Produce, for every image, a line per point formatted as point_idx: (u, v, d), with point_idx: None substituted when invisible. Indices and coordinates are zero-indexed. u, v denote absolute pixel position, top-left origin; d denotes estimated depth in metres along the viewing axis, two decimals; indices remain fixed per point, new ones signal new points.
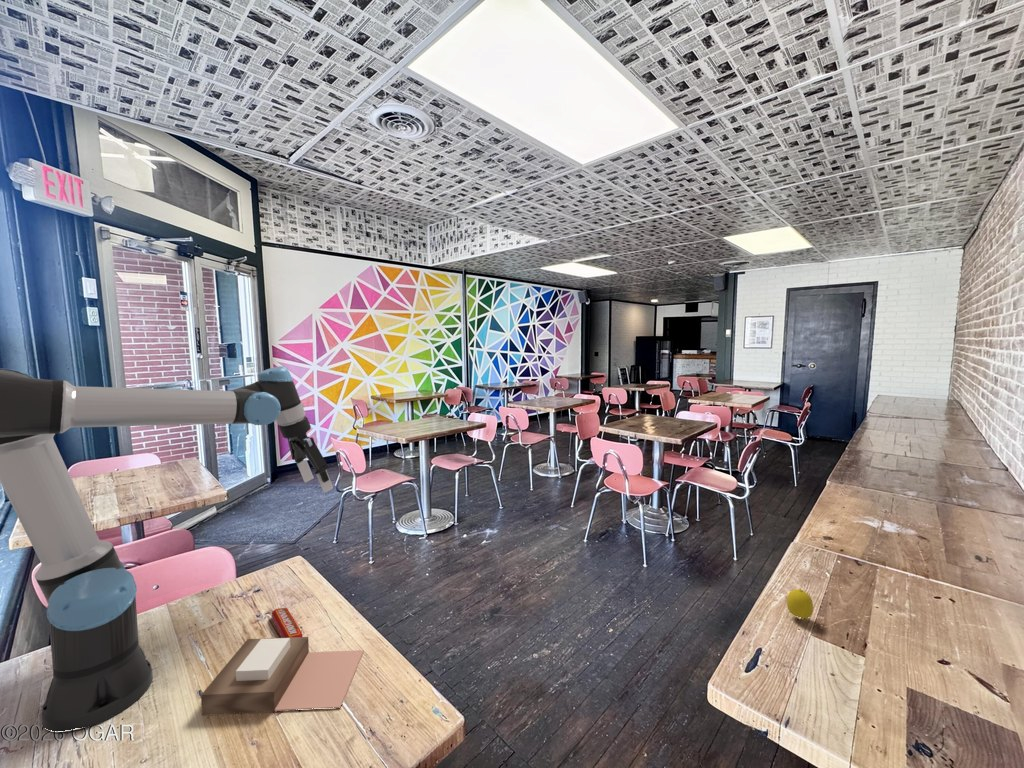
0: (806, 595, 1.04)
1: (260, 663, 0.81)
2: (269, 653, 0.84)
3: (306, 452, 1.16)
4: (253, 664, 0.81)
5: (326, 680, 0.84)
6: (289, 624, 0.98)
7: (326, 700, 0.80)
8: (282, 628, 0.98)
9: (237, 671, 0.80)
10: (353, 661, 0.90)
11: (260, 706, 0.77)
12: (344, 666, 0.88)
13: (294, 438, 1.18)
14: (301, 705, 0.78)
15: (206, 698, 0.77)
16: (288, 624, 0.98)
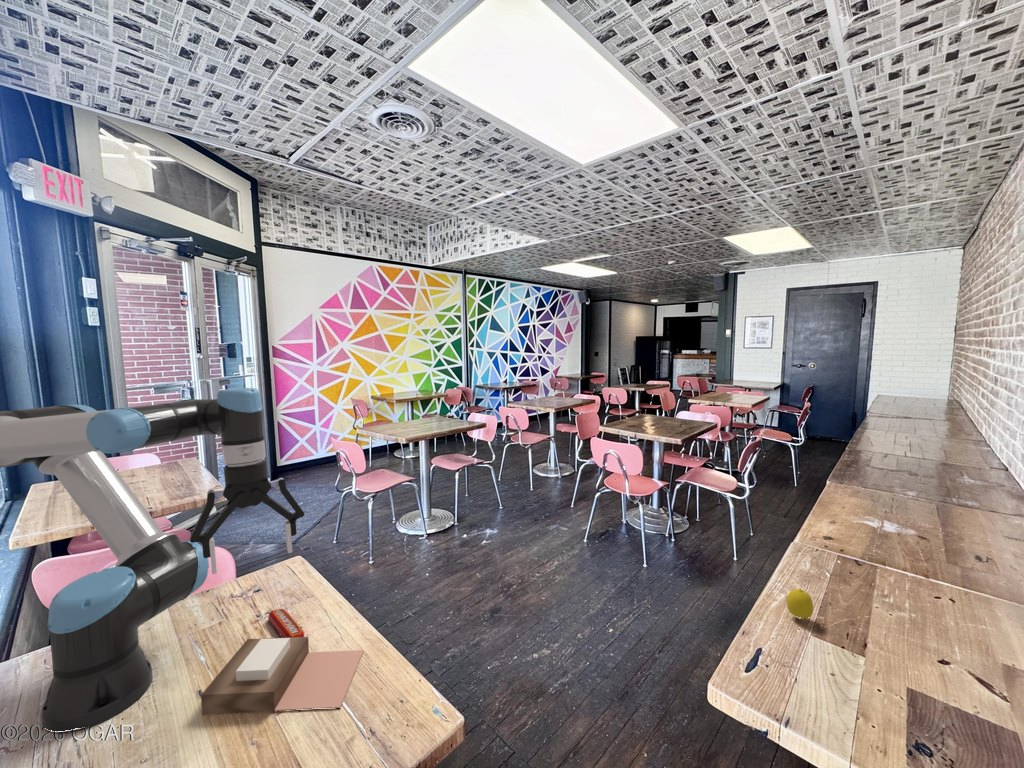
0: (806, 595, 1.04)
1: (260, 663, 0.81)
2: (269, 653, 0.84)
3: (224, 507, 0.86)
4: (253, 664, 0.81)
5: (326, 680, 0.84)
6: (289, 624, 0.98)
7: (326, 700, 0.80)
8: (282, 628, 0.97)
9: (237, 671, 0.80)
10: (353, 661, 0.90)
11: (260, 706, 0.77)
12: (344, 666, 0.88)
13: None
14: (301, 705, 0.78)
15: (206, 698, 0.77)
16: (288, 624, 0.98)
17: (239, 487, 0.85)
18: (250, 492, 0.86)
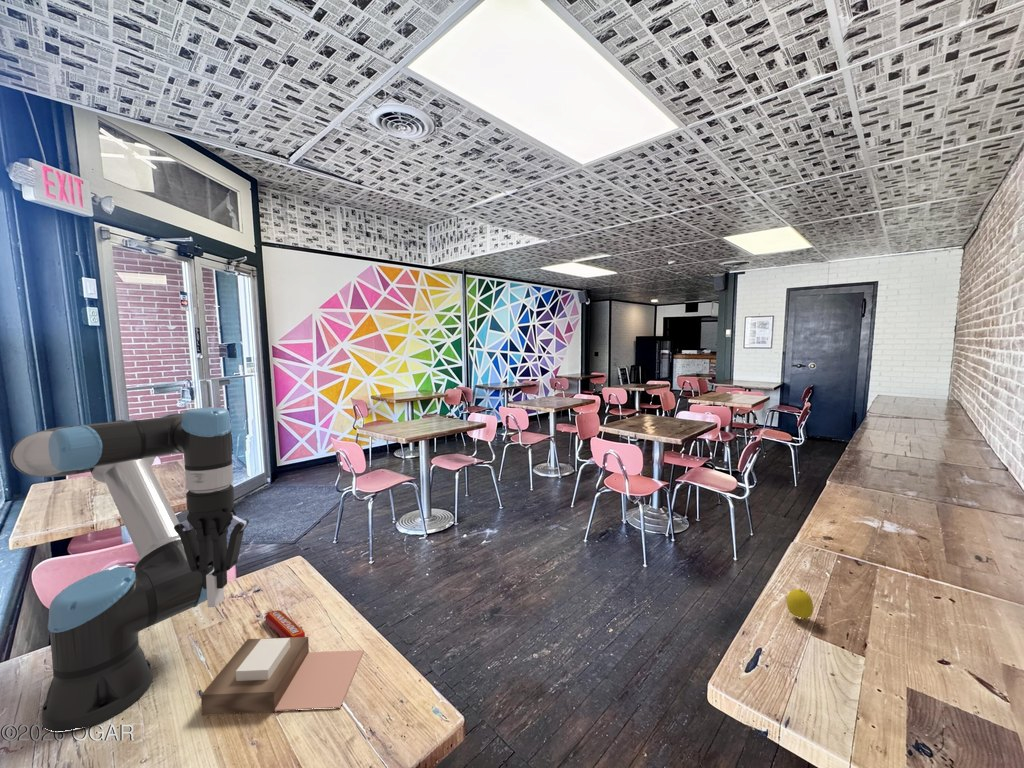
0: (806, 595, 1.04)
1: (260, 663, 0.81)
2: (269, 653, 0.84)
3: None
4: (253, 664, 0.81)
5: (326, 680, 0.84)
6: (288, 624, 0.98)
7: (326, 700, 0.80)
8: (282, 629, 0.97)
9: (237, 671, 0.80)
10: (353, 661, 0.90)
11: (260, 706, 0.77)
12: (344, 666, 0.88)
13: None
14: (301, 705, 0.78)
15: (206, 698, 0.77)
16: (288, 625, 0.98)
17: None
18: (211, 518, 0.80)
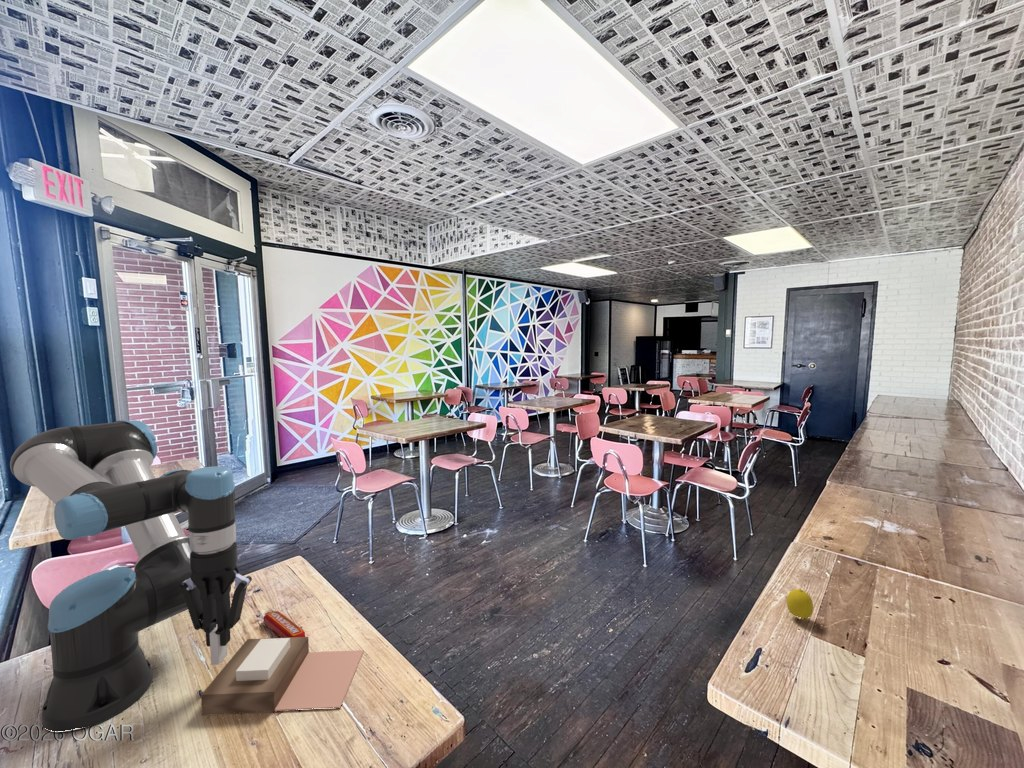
0: (806, 595, 1.04)
1: (260, 663, 0.81)
2: (269, 653, 0.84)
3: None
4: (253, 664, 0.81)
5: (326, 680, 0.84)
6: (288, 625, 0.98)
7: (326, 700, 0.80)
8: (281, 629, 0.97)
9: (237, 671, 0.80)
10: (353, 661, 0.90)
11: (260, 706, 0.77)
12: (344, 666, 0.88)
13: None
14: (301, 705, 0.78)
15: (206, 698, 0.77)
16: (288, 625, 0.98)
17: None
18: (215, 577, 0.81)
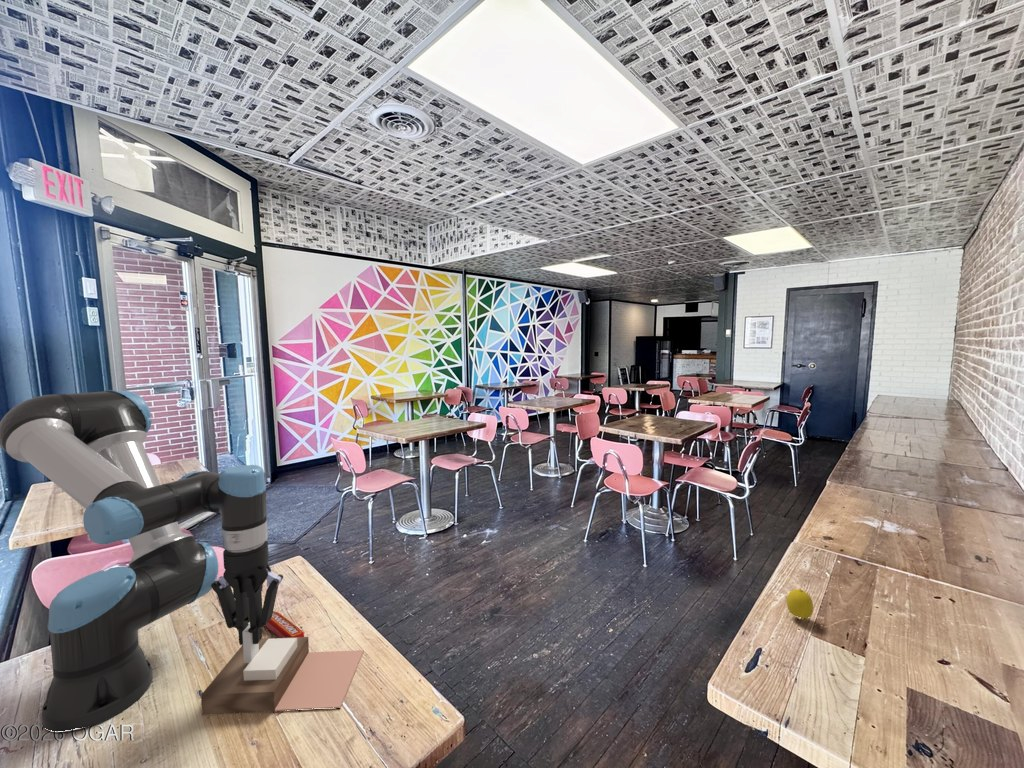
0: (806, 595, 1.04)
1: (267, 663, 0.82)
2: (276, 653, 0.84)
3: None
4: (260, 664, 0.81)
5: (326, 680, 0.84)
6: (287, 625, 0.98)
7: (326, 700, 0.80)
8: (280, 629, 0.97)
9: (245, 671, 0.80)
10: (353, 661, 0.90)
11: (260, 706, 0.77)
12: (344, 666, 0.88)
13: None
14: (301, 705, 0.78)
15: (206, 698, 0.77)
16: (286, 625, 0.98)
17: None
18: (247, 575, 0.82)
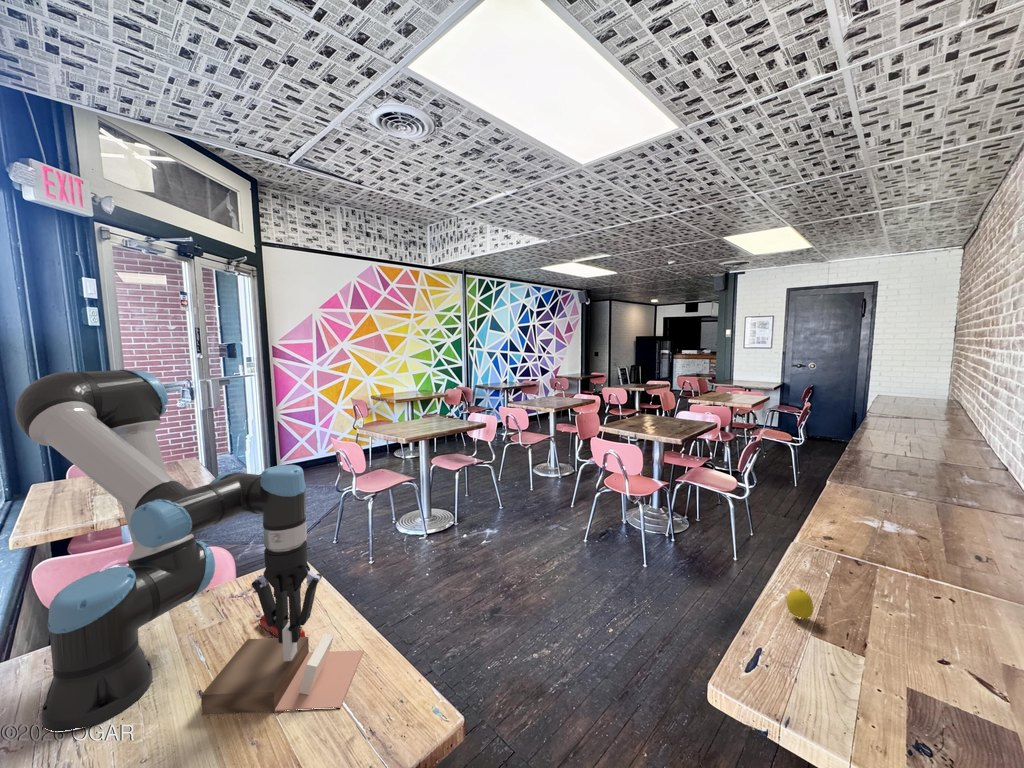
0: (806, 595, 1.04)
1: (315, 677, 0.82)
2: (320, 668, 0.85)
3: None
4: (316, 672, 0.82)
5: (326, 680, 0.84)
6: None
7: (326, 700, 0.80)
8: None
9: (315, 668, 0.81)
10: (353, 661, 0.90)
11: (260, 706, 0.77)
12: (344, 666, 0.88)
13: None
14: (301, 705, 0.78)
15: (206, 698, 0.77)
16: None
17: None
18: (287, 574, 0.82)
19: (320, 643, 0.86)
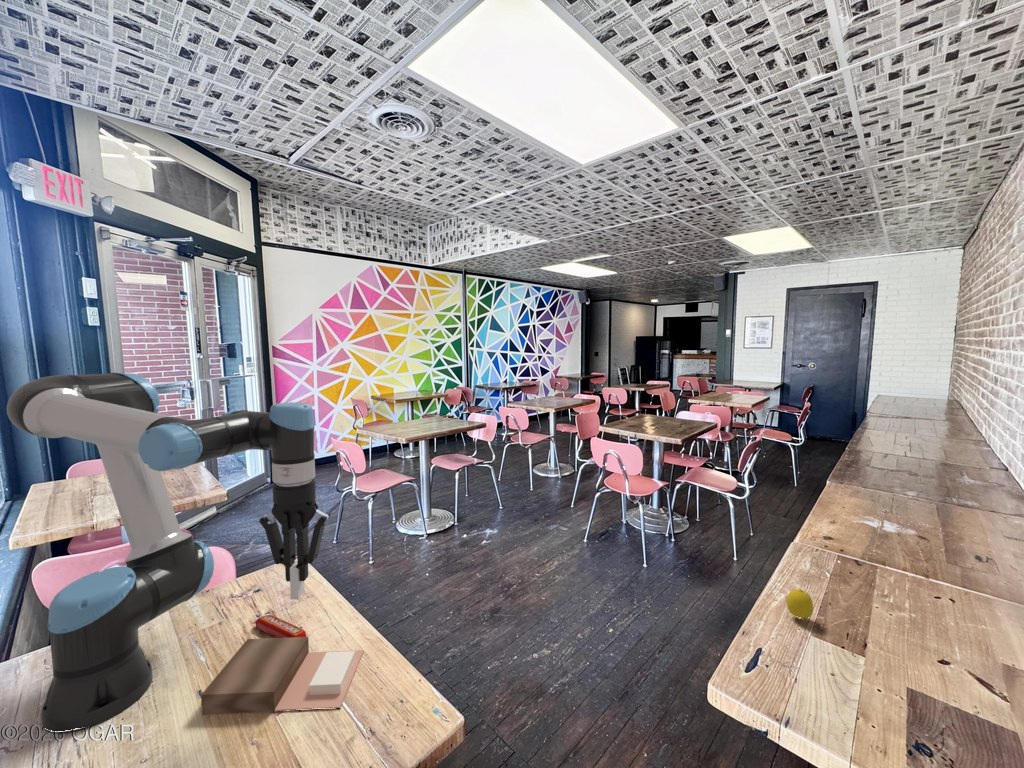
0: (806, 595, 1.04)
1: None
2: None
3: None
4: None
5: None
6: (286, 626, 0.98)
7: (326, 700, 0.80)
8: (280, 630, 0.97)
9: (339, 693, 0.81)
10: None
11: (260, 706, 0.77)
12: None
13: None
14: (301, 705, 0.78)
15: (206, 698, 0.77)
16: (286, 626, 0.98)
17: None
18: (296, 511, 0.81)
19: (350, 663, 0.87)
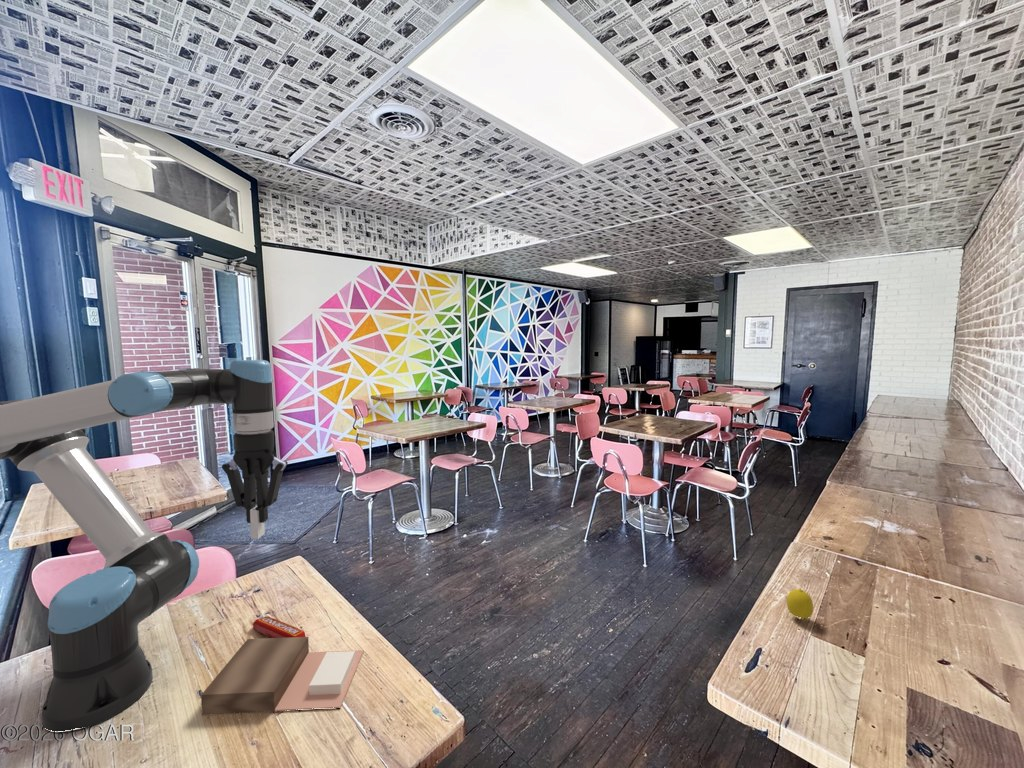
0: (806, 595, 1.04)
1: None
2: None
3: None
4: None
5: None
6: (285, 627, 0.97)
7: (326, 700, 0.80)
8: (279, 631, 0.96)
9: (339, 693, 0.81)
10: None
11: (260, 706, 0.77)
12: None
13: None
14: (301, 705, 0.78)
15: (206, 698, 0.77)
16: (284, 627, 0.97)
17: None
18: (255, 458, 0.89)
19: (350, 663, 0.87)
